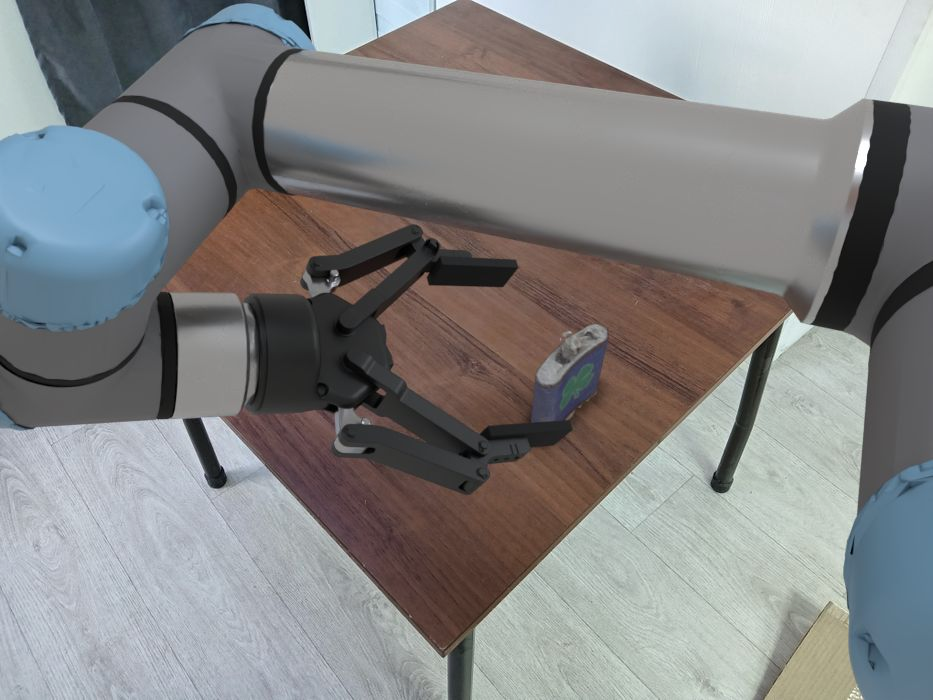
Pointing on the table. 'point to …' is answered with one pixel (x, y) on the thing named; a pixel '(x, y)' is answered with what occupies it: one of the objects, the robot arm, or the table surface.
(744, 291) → the table surface
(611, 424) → the table surface
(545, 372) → the flask
